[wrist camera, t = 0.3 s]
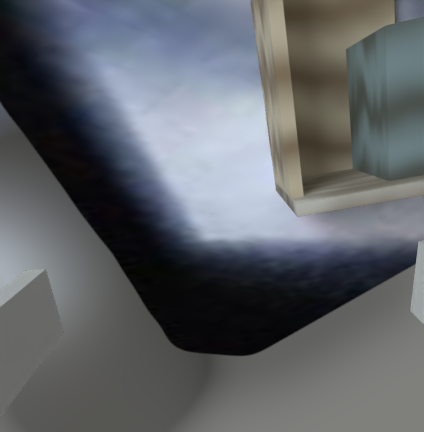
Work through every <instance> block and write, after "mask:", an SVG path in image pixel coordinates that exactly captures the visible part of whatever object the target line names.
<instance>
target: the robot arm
mask: <svg viewBox="0 0 424 432" xmlns="http://www.w3.org/2000/svg"><path fill="white" fill-rule="evenodd" d="M411 312H412V313H413V314H414V315H415V316H416V317H417V318H418V319H419V320H420V321H421V322H422V323H423V324H424V241H419V242H418V250H417V259H416V267H415V276H414V284H413V293H412V302H411ZM63 333H64V331H63V327H62V323H61V320H60V316H59V313H58V310H57V306H56V303H55V299H54V296H53V292H52V289H51V286H50V282H49V278H48V275H47V272H46V269H37V270H26V271H24V272H23V273H22V274H21V275H19V276H18V277H16V278H15V279H14V280H12V281H11V282H10V283H8V284H7V285H6V286H4V287H3V288H2V289H1V290H0V417H1V416H2V415H3V413H4V412H5V411H6V409H7V408H8V406H9V405H10V404H11V402H12V401H13V400H14V399H15V397H16V396H17V395H18V393H19V392H20V390H21V389H22V388H23V386H24V385H25V384H26V382H27V381H28V380H29V378H30V377H31V376H32V374H33V373H34V372H35V370H36V369H37V368H38V366H39V365H40V364H41V362H42V361H43V359H44V358H45V357H46V356H47V354H48V353H49V352H50V350H51V349H52V348H53V346H54V345H55V343H56V342H57V341H58V340H59V338H60V337H61V336H62V334H63Z"/></svg>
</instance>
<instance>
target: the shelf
mask: <svg viewBox="0 0 424 432" xmlns="http://www.w3.org/2000/svg"><path fill="white" fill-rule="evenodd" d="M251 6H252V14H253V21H254V29H255V36H256V44H257V51H258V59H259V66H260V74H261V81H262V89H263V96H264V104H265V111H266V119H267V126H268V133H269V141H270V148H271V156H272V163H273V171H274V178H275V186H276V191H277V192H278V193H279V195H280V196H281V197H282V198H283V200H284V201H285V202H286V203H287V205H288V206H289V207H290V208H291V209H292V211H293V212H294V213H295V214H296V216H297V217H299V216H305V215H311V214H317V213H322V212H328V211H334V210H340V209H346V208H352V207H358V206H363V205H369V204H375V203H381V202H387V201H393V200H399V199H404V198H410V197H416V196H422V195H424V17H422V18H418V19H413V20H408V21H404V22H399V23H395V2H394V0H251Z"/></svg>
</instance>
